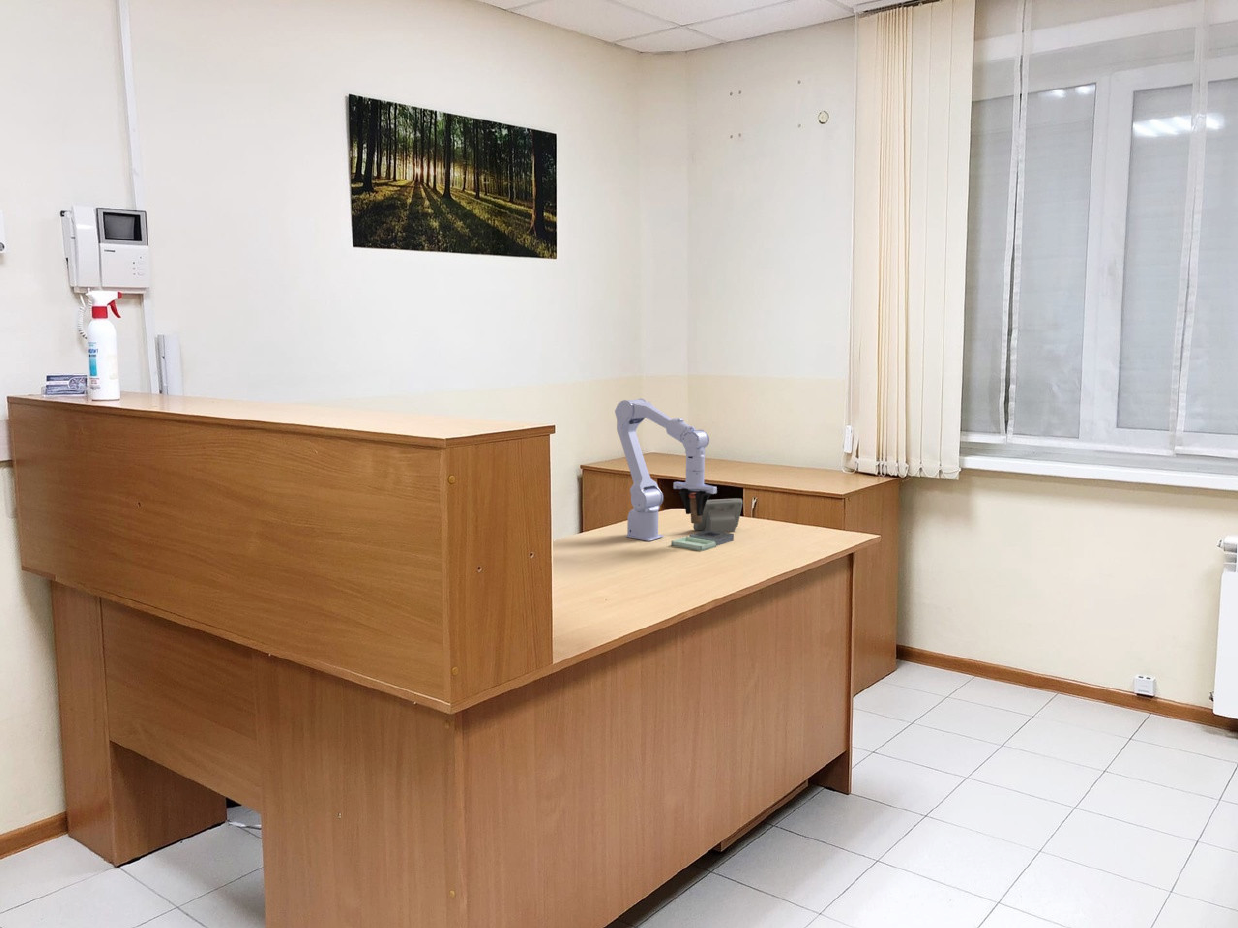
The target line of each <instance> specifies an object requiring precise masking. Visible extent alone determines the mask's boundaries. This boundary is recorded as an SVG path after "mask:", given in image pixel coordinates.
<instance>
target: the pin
mask: <svg viewBox="0 0 1238 928" xmlns="http://www.w3.org/2000/svg"><path fill="white" fill-rule="evenodd" d="M695 493H696V492H694V493H690V494H689V498H690V511H691V513H690V522H691V524H692V525H694V524H698V523H701V522H702V520H701V516H697V502H696V497H695Z"/></svg>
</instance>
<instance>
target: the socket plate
mask: <svg viewBox="0 0 1238 928" xmlns="http://www.w3.org/2000/svg"><path fill="white" fill-rule="evenodd" d="M689 537H692V538H698V539H703V540H709V541H715V542H716V547H717V546H720V545H723V544H727V543H729V542H731V541H735V534H734V533H732V532H726V533H725V532H719V531H713V530H700V531H698V532H693V533H691V534H689Z"/></svg>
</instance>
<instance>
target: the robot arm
mask: <svg viewBox="0 0 1238 928" xmlns="http://www.w3.org/2000/svg"><path fill="white" fill-rule="evenodd" d="M614 413H615V416H616V421H617V423H616V430H617V433H618V438H619V440H620V444H621V447H622V450H623V453H624V457H625V459H626V462H627V463H626V464H627V465H628V470H629V473H630V476H631V479H632V483H633V484H632V485H631V487H630V489H629V493H630V503H631V506H632V507H633V508H632V509H630V510H629V511H628V514H627V525H626V526H627V527H626V528H627V530H626V531H627V532H626V535H625V537H626V538H631V539H637V540H641V541H646V542H647V541H648V542H650V541H653V540H658V539H661V538H664V536H665V535H663V534H659V510H660V506H661V505H662V504H663V502H664V493H663V492H662V491H661V489H660V488H659V485H658V483H657V482H656V481H655V480H654V479H652V478H651V477H650V476H651V475H650V473H649V469H648V466H647V463H646V460H645V457H644V454H643V453H644V452H643V451H642V448H641V444H640V441H639V438H638V435H637V429H638V427H639V426H640V424H641V423H642V422H643V421H644V420H645V419H648V420H649V421H651V422H653V423H655V424H656V425H659V426H661V427H663V428H665V430H666V434H667V435H669V436H670V437H672V438H674V439H675V440H677V441H678V442H679V443H682V447H683V448H684V450H685V451H684V453H685V481H684V482H682V481H674V482H673V489H674V490H680V491H679V492H678V494H679V496H680V498H681V500H682V503H683V507H684V510H685V514H686V515H691V511H690V498H689V494H690V493H695V497H696V502H697V516H701V515H703V511H704V508H705V505H706V502H707V500H709V498H710V497H711V495H714V494H715V495H716V494H717V493H718V490H717V489H718V488H717V486H713V485H709V484H706V483H705V470H706V448H707V446H708V445H709V443H710V438H709V435H708V433H707V432H706V431H705V430H704V429H696V427H695V426H694V425H690V424H688V423H686V422H685V421H684V418H682V417H678V418H677V417H675V418H671V417H670V416H669V415H666V413H664V412H663V411H661V410H659V409H658V408H656V406H654V405H653V404H652V403H651V402H650V401H647V400H646V399H644V398H637V399H629V400H628V399H623V400H621V401H619V403H618V404H617V406H616V408H615V410H614Z"/></svg>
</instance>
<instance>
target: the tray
mask: <svg viewBox="0 0 1238 928" xmlns="http://www.w3.org/2000/svg"><path fill="white" fill-rule="evenodd" d="M671 547H676V548H681V549H686V550H694V551H698V552H702V551H706V550H710V549H712V548H716V547H717V546H716V542H715V541H709V540H703V539H698V538H692V537H690V536H684V537H680V538H677V539H674V540H671Z"/></svg>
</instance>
